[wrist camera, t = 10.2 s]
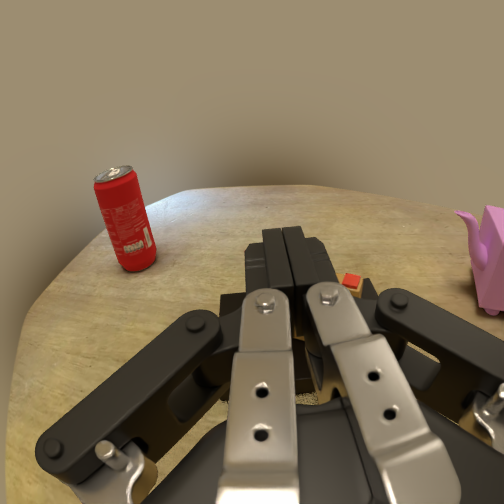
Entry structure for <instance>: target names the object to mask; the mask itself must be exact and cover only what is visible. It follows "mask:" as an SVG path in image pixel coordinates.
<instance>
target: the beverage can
mask: <svg viewBox="0 0 504 504" xmlns="http://www.w3.org/2000/svg"><path fill="white" fill-rule="evenodd" d="M94 182H95V184H94V190H95V194H96V197H97V200H98V203H99V207H100V210H101V213H102V216H103V219H104V222H105V225H106V228H107V231H108V234H109V237H110V240H111V243H112V245H113V248H114V251H115V254H116V256H117V259H118V262H119V263H120V264H121V265H122V266H123V267H124V269H125V270H127V271H130V272H136V271H141V270H144V269H146V268H148V267H149V266H151V265H152V264H153V263H154V261H155V259H156V256H155V255H156V246H155V242H154V239H153V235H152V232H151V228H150V225H149V221H148V217H147V214H146V210H145V206H144V203H143V199H142V195H141V191H140V187H139V183H138V179H137V174H136V173H135V172H134V171H133V167H132V166H121V167H116V168H112V169H110V170H107V171H105V172H102V173H100V174H99V175H97V176H96V177H95V178H94Z"/></svg>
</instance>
